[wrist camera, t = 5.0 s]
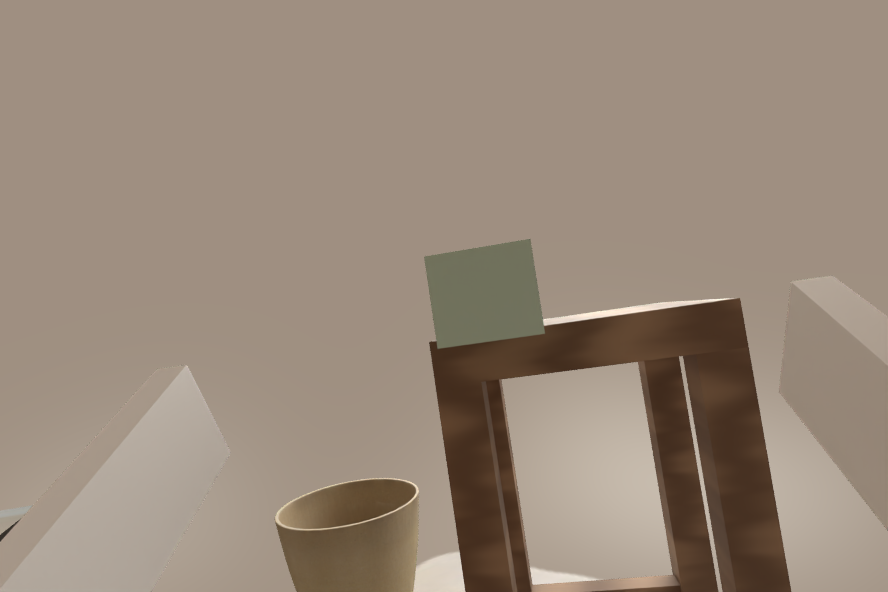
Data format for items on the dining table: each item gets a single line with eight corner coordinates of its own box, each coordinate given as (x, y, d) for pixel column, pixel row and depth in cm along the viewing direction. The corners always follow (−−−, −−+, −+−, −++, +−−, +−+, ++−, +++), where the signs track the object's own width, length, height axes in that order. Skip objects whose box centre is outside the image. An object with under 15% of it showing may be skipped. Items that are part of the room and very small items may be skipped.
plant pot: (287, 725, 47) (263, 541, 48) (302, 633, 62) (284, 493, 62) (452, 680, 50) (427, 507, 51) (429, 602, 64) (410, 469, 65)
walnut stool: (730, 715, 41) (661, 302, 43) (857, 967, 25) (739, 297, 27) (522, 722, 43) (463, 330, 45) (518, 957, 28) (429, 342, 29)
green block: (486, 327, 44) (479, 285, 44) (535, 320, 43) (528, 277, 43) (437, 348, 20) (424, 256, 20) (545, 333, 19) (530, 238, 20)
